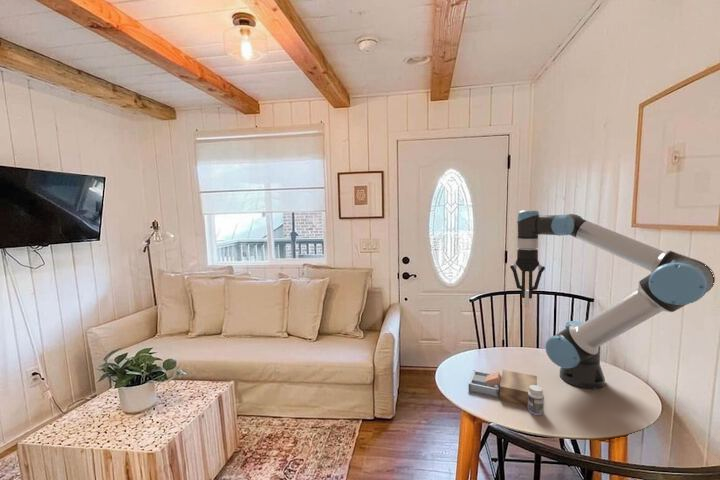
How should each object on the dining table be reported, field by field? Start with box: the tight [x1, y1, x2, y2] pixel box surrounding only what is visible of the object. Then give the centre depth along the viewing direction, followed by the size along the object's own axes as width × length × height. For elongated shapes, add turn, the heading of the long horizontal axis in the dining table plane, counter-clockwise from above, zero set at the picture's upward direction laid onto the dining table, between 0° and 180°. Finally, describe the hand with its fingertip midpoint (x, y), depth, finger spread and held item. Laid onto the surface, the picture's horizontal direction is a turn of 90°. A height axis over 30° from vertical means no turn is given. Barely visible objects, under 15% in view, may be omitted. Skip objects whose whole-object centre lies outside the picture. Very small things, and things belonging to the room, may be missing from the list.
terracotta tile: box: [485, 371, 502, 387], centre depth 128 cm, size 5×5×2 cm
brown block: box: [499, 369, 538, 406], centre depth 124 cm, size 12×14×5 cm
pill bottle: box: [527, 384, 545, 416], centre depth 113 cm, size 5×5×8 cm
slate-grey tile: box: [472, 374, 487, 386], centre depth 131 cm, size 5×5×2 cm
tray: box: [468, 370, 500, 398], centre depth 130 cm, size 11×12×3 cm
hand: (526, 305), depth 136 cm, fingers closed
